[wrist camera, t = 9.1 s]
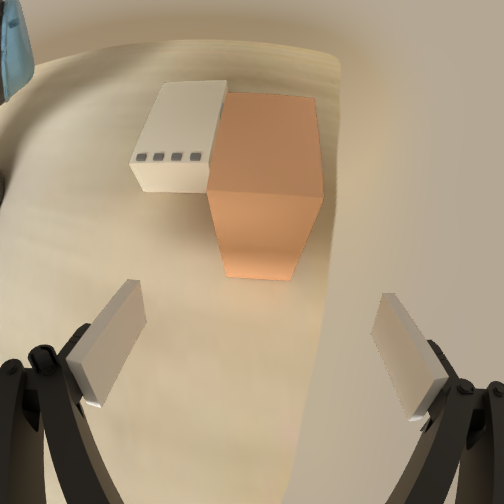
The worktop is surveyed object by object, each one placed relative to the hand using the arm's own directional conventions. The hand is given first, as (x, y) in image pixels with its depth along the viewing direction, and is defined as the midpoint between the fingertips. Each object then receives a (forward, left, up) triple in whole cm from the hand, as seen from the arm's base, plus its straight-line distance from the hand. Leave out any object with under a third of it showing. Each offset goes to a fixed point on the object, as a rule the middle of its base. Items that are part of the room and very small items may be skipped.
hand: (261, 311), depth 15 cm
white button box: (-18, +7, -7) cm, 21 cm away
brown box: (-5, +5, -7) cm, 11 cm away
